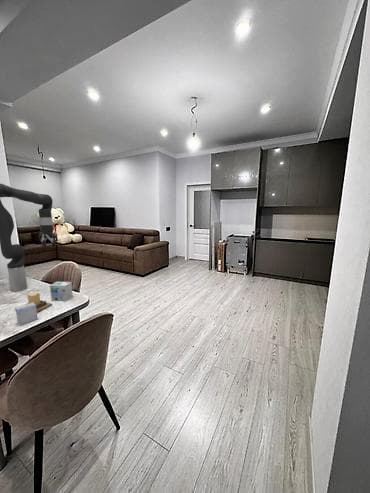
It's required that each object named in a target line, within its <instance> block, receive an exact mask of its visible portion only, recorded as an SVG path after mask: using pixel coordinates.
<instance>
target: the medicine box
mask: <svg viewBox="0 0 370 493" xmlns="http://www.w3.org/2000/svg"><path fill="white" fill-rule="evenodd" d="M14 309H15V315H16V320H17V324H18V325H19V326H21V325H22V326H23V325H25V324H27V323H31V322H33V321H36V320H38V313H37V310H36V305H35V304H34V303H30V304H27V303H26V305H25V304H22V305H20V306H16V307H15V308H14Z"/></svg>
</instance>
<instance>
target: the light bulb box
mask: <svg viewBox="0 0 370 493" xmlns="http://www.w3.org/2000/svg"><path fill="white" fill-rule="evenodd" d="M72 285H73V284H72V281H55V282H53V283H51V284H50V285H49V289H50V298H51V299H50V300H51V301H53V302H54V301H56V302H57V301H58V302H68V301H69V300H70V299H72V298H73V297H74V294H73V286H72Z"/></svg>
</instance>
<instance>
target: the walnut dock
mask: <svg viewBox="0 0 370 493" xmlns="http://www.w3.org/2000/svg"><path fill="white" fill-rule="evenodd" d="M40 302H41V303H40V304H38V305H36V310H37V314H39V313H41V312H42V311H45V309H46V310H47V309H48V308H50V307H52V306H53V303H51V302H47V301H46V300H41V299H40ZM26 304H29V302H28V303H26ZM26 304H25V303H24V305H26Z"/></svg>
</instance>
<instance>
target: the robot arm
mask: <svg viewBox="0 0 370 493" xmlns="http://www.w3.org/2000/svg"><path fill="white" fill-rule="evenodd" d="M1 198H13V199H14V198H15V199H17V200H19V201H23V202H26V203H27V202H28V203H32V204H36V205H40V206H42V207H41V208H39V209H38V217H39V221H38V222H39V223H38V224H39V230H40V231H39V232H38V233H37V234H38V240H39V242H41V245H42V246H41V247H42V248H46V247H47V242H46V241H47V240H49V241H50V242H51V248H52V249H54V248H56V247H57V242H58V241H59V240H58V239H59V238H58V233H57V232H54V230H55V228H54V220H53V216H52V214H53V213H52V209H53V198H52V196H50V194H47V193H46V194H45V193H38V192H37V193H36V192H33V191H30V190H24V189H18V188H16V187H15V188H14V187H11V186H8V185H7V184H4V183H0V252H1V255H2V257H4V259H6V260H10V261H9V262H8V263H7V264H6V266H7V272H8V274H7V275H8V285H9V288H10V291H11V292H15V293H16V292H21V291H24V290H27V289H28V285H27V283H28V282H27V276H26V271H25V270H26V269H25V263H26V262H25V261H26V259H25V250H24V248H23V246H22V245H21V244H18V243H14V244H13V243H12V235H13V232H14V228H15V222H14V219H13V216H12V214H11V213H10V212H9V210H8V209H7V208H6V207H5V206H4V204H3V202H2V200H1Z"/></svg>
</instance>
